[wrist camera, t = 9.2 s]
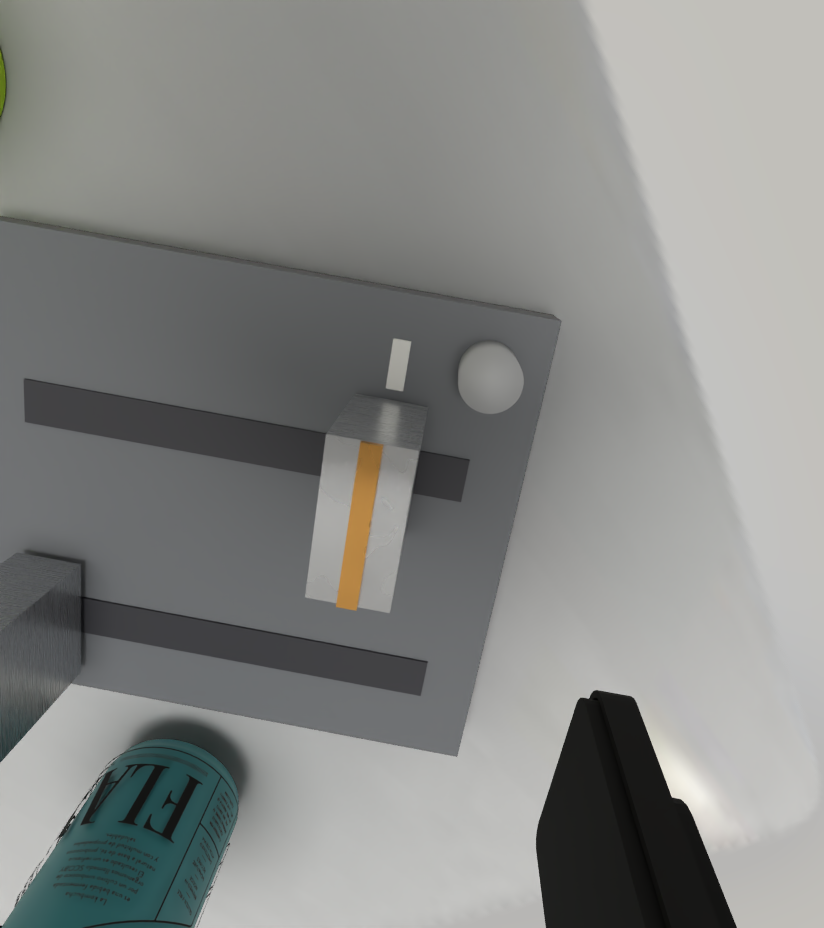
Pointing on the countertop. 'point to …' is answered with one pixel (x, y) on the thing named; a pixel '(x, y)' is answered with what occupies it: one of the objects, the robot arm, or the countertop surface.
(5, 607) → the fader tab
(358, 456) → the fader tab
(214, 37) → the countertop surface
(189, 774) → the beverage bottle
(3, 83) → the soap dispenser
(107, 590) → the console
